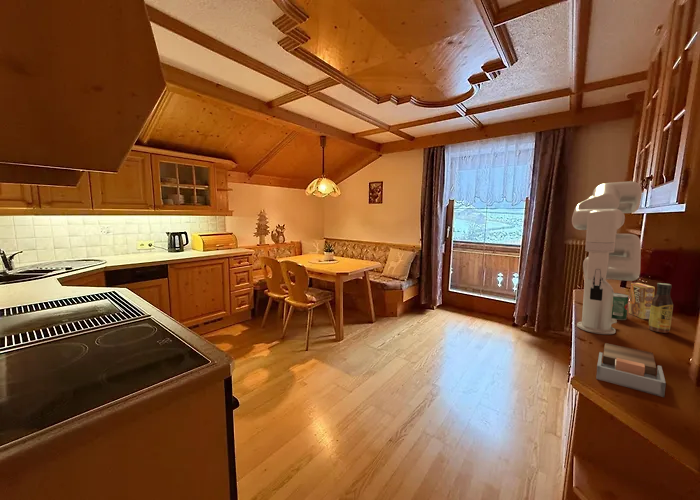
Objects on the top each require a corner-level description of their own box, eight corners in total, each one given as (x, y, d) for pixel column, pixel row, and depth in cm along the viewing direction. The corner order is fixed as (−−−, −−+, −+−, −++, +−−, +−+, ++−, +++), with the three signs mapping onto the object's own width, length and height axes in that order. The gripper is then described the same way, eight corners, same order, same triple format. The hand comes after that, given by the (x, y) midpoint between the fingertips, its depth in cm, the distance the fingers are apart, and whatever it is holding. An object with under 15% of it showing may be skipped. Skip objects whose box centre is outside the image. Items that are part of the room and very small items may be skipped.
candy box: (652, 319, 135) (656, 287, 134) (642, 319, 136) (645, 286, 134) (637, 313, 144) (640, 282, 142) (627, 313, 145) (630, 282, 143)
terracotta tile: (616, 357, 90) (616, 360, 88) (644, 363, 86) (644, 367, 84) (615, 373, 90) (615, 376, 88) (642, 380, 86) (643, 383, 84)
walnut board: (604, 350, 106) (604, 342, 105) (652, 361, 98) (652, 352, 97) (602, 364, 96) (603, 355, 96) (655, 377, 88) (656, 368, 88)
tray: (598, 363, 97) (599, 352, 97) (660, 378, 88) (661, 366, 87) (596, 378, 88) (597, 366, 88) (664, 397, 79) (665, 383, 78)
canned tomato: (599, 314, 144) (601, 292, 142) (616, 314, 143) (618, 292, 142) (613, 320, 136) (615, 296, 134) (631, 320, 135) (633, 296, 134)
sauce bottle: (662, 334, 119) (667, 286, 117) (644, 328, 125) (648, 282, 123) (674, 332, 120) (679, 285, 118) (656, 327, 126) (660, 281, 124)
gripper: (586, 243, 108) (583, 292, 110) (584, 249, 96) (580, 303, 99) (613, 244, 103) (609, 295, 105) (615, 250, 92) (610, 307, 94)
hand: (595, 299), depth 102 cm, fingers closed
